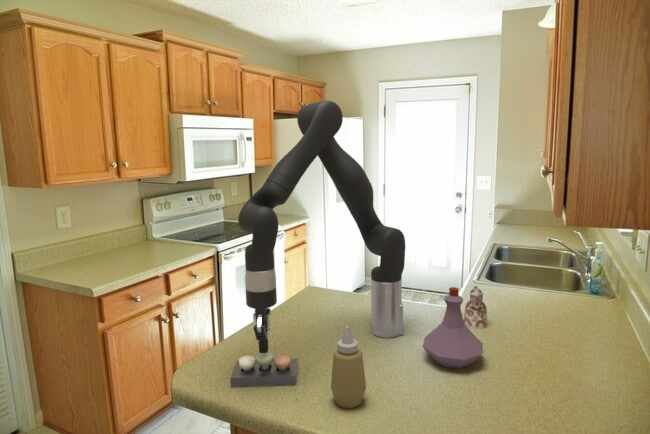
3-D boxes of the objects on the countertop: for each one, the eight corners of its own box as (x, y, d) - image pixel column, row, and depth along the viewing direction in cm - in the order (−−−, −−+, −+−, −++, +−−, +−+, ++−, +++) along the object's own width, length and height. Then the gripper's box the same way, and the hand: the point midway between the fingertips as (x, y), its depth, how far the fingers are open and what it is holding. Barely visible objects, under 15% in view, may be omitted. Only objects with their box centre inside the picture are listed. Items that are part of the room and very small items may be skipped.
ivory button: (256, 369, 116) (256, 355, 115) (254, 377, 112) (253, 362, 111) (241, 370, 116) (240, 355, 115) (238, 378, 112) (237, 363, 111)
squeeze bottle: (329, 392, 106) (327, 321, 103) (363, 390, 106) (362, 318, 103) (333, 413, 98) (331, 335, 95) (369, 410, 98) (368, 333, 95)
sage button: (274, 365, 115) (273, 350, 115) (272, 373, 111) (271, 358, 111) (258, 365, 115) (257, 351, 115) (256, 373, 111) (255, 358, 111)
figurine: (462, 327, 141) (463, 290, 139) (464, 318, 147) (465, 283, 145) (486, 330, 138) (487, 292, 136) (487, 321, 144) (488, 285, 143)
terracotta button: (291, 368, 116) (290, 354, 115) (290, 376, 112) (289, 361, 111) (276, 369, 116) (275, 354, 115) (274, 377, 112) (273, 362, 111)
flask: (409, 362, 119) (410, 290, 116) (438, 341, 131) (439, 275, 128) (469, 382, 108) (471, 304, 105) (494, 357, 121) (497, 286, 117)
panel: (297, 367, 118) (297, 358, 118) (296, 385, 109) (295, 376, 109) (237, 368, 118) (237, 360, 118) (230, 387, 109) (230, 378, 109)
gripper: (273, 294, 103) (276, 364, 106) (278, 277, 116) (281, 340, 119) (240, 295, 103) (244, 364, 106) (249, 278, 116) (253, 340, 119)
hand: (263, 351), depth 113 cm, fingers closed
